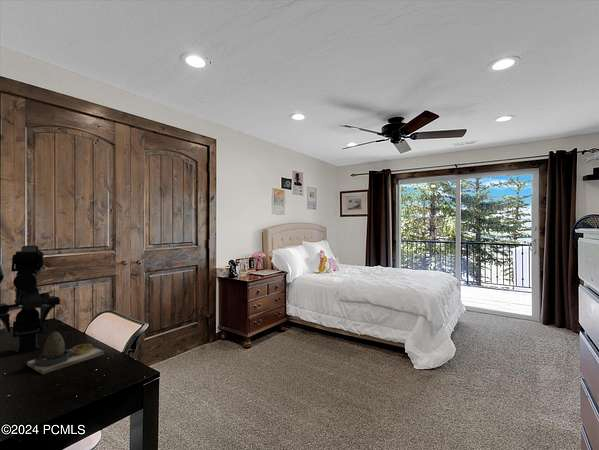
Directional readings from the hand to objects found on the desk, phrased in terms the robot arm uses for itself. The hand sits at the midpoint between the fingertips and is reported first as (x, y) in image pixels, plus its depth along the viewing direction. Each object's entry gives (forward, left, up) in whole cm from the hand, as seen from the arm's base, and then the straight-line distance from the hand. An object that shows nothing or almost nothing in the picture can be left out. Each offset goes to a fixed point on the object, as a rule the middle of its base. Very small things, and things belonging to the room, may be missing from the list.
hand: (25, 328), depth 109 cm
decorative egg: (+10, +5, -11) cm, 16 cm away
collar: (+10, +5, -12) cm, 16 cm away
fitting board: (+10, +9, -12) cm, 18 cm away
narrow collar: (+10, +14, -12) cm, 21 cm away
